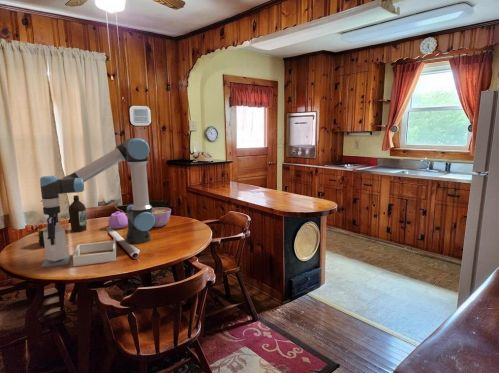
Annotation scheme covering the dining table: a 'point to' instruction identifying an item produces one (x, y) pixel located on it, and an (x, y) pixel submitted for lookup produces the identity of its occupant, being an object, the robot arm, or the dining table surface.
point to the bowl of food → (161, 216)
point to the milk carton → (60, 243)
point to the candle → (41, 236)
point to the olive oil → (77, 215)
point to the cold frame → (97, 257)
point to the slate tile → (56, 262)
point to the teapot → (118, 220)
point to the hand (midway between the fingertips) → (55, 247)
